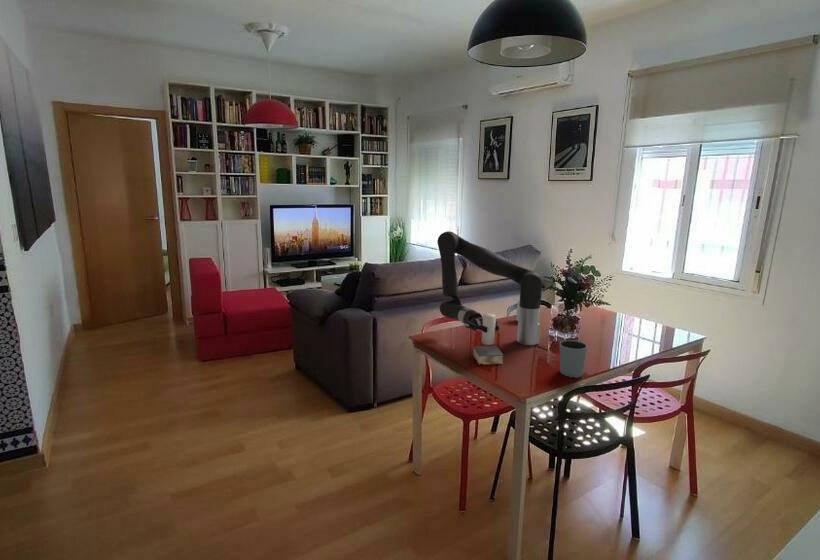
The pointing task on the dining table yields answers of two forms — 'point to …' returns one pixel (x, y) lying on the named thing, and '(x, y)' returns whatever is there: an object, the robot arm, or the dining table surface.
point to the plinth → (488, 355)
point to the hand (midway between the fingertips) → (492, 329)
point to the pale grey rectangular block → (489, 328)
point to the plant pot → (572, 358)
